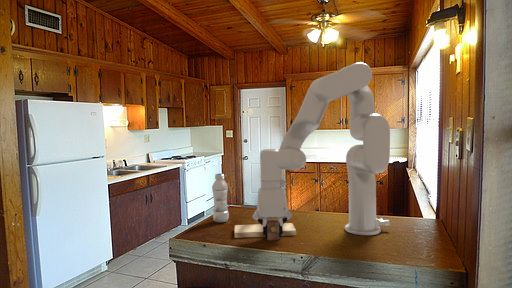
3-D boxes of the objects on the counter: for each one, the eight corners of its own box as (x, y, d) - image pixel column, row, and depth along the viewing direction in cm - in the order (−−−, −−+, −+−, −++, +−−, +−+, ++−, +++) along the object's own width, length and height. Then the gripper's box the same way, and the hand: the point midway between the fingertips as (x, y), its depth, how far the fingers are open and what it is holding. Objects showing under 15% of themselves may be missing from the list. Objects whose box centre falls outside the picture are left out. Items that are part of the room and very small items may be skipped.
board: (292, 227, 126) (292, 223, 126) (296, 235, 117) (296, 230, 117) (235, 229, 125) (234, 225, 125) (234, 237, 116) (234, 232, 116)
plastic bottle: (232, 221, 137) (231, 173, 136) (220, 225, 132) (218, 175, 131) (222, 218, 141) (220, 172, 140) (209, 222, 136) (208, 174, 135)
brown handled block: (275, 228, 125) (275, 213, 125) (279, 240, 112) (279, 223, 112) (264, 229, 125) (264, 213, 125) (267, 241, 112) (267, 223, 111)
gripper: (293, 182, 118) (294, 232, 119) (247, 183, 117) (248, 234, 118) (297, 185, 110) (298, 239, 111) (247, 187, 109) (249, 241, 110)
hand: (272, 236), depth 114 cm, fingers closed on brown handled block, 4 cm apart
